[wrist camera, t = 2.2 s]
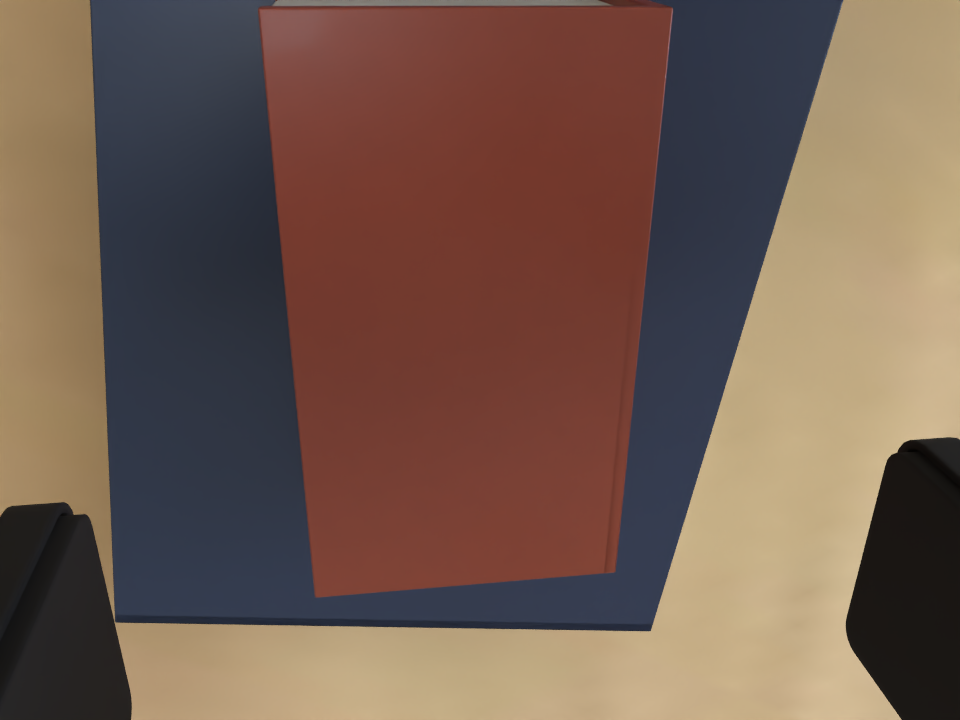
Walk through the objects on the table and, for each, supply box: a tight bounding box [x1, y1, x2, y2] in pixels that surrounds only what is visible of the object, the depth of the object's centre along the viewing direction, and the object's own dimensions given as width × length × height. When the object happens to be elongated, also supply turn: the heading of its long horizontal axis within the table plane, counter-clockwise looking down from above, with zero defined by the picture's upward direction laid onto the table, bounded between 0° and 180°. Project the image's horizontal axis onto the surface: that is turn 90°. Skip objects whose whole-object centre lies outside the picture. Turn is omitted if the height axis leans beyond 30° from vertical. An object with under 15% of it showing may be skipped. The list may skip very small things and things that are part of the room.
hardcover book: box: [90, 0, 843, 631], centre depth 20 cm, size 14×20×3 cm
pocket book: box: [258, 0, 673, 598], centre depth 17 cm, size 6×11×4 cm, turn 179°
